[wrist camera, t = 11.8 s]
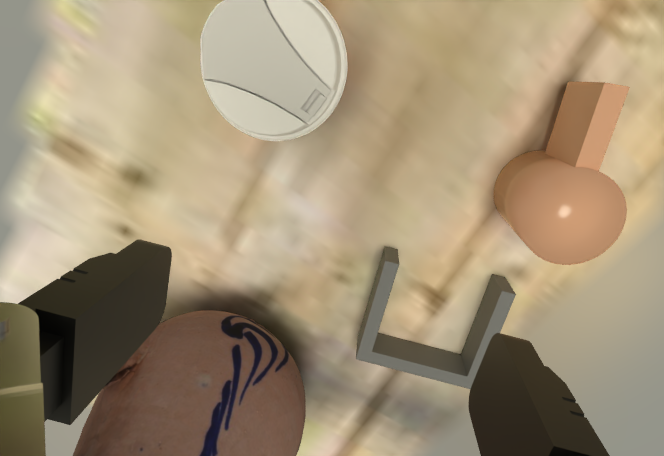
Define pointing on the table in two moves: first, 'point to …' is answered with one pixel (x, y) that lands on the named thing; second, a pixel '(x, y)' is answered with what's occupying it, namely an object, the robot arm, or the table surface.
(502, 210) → the peach mallet
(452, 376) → the charcoal holder
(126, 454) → the ceramic pitcher
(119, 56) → the table surface
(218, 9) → the coffee cup
